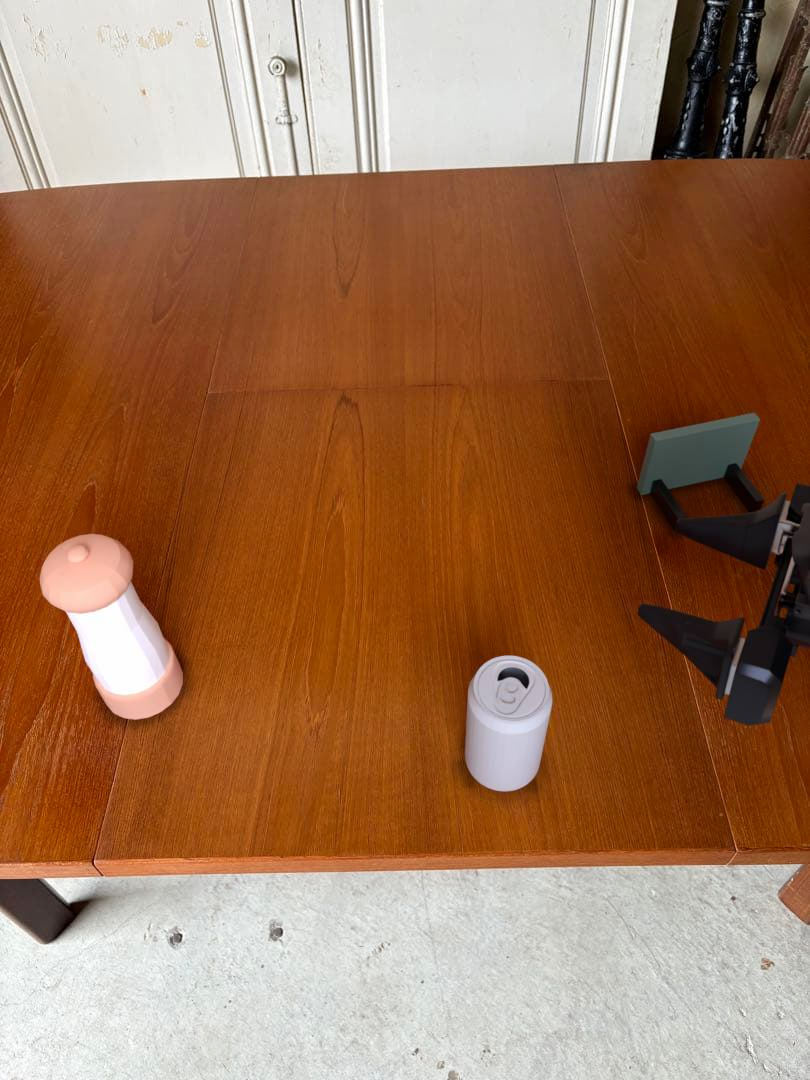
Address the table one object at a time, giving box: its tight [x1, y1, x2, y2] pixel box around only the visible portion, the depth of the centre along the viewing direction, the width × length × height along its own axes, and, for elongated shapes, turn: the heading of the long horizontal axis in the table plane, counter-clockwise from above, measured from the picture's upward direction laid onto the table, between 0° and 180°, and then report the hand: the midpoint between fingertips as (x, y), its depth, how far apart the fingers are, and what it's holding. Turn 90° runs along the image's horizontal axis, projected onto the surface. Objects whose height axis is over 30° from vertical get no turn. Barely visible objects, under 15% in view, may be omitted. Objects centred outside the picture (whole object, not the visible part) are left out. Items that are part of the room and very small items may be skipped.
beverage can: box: [464, 655, 553, 792], centre depth 65 cm, size 6×6×12 cm
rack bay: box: [636, 412, 765, 532], centre depth 86 cm, size 7×12×8 cm, turn 105°
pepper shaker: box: [39, 533, 184, 721], centre depth 68 cm, size 7×7×19 cm
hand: (658, 565), depth 61 cm, fingers open, 9 cm apart
